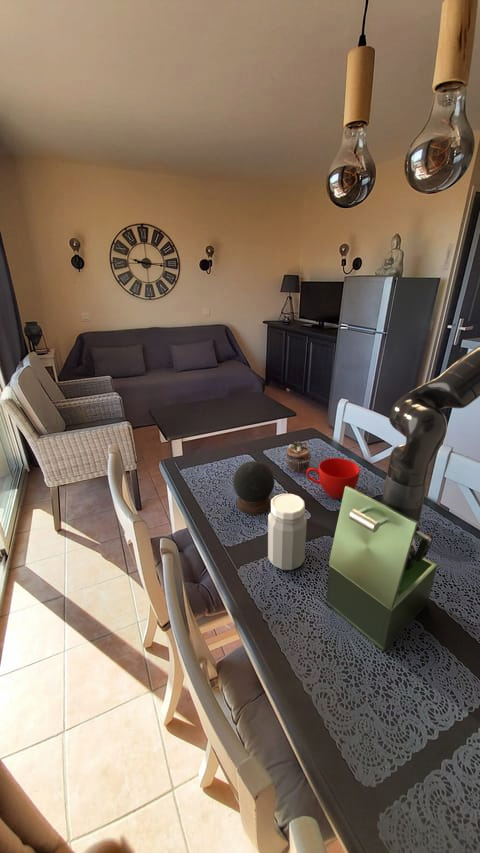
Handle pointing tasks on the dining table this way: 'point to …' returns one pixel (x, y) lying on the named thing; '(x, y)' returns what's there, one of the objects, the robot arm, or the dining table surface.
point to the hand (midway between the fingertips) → (391, 559)
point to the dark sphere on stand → (253, 487)
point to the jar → (287, 532)
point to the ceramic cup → (336, 476)
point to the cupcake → (298, 457)
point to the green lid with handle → (372, 545)
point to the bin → (372, 613)
